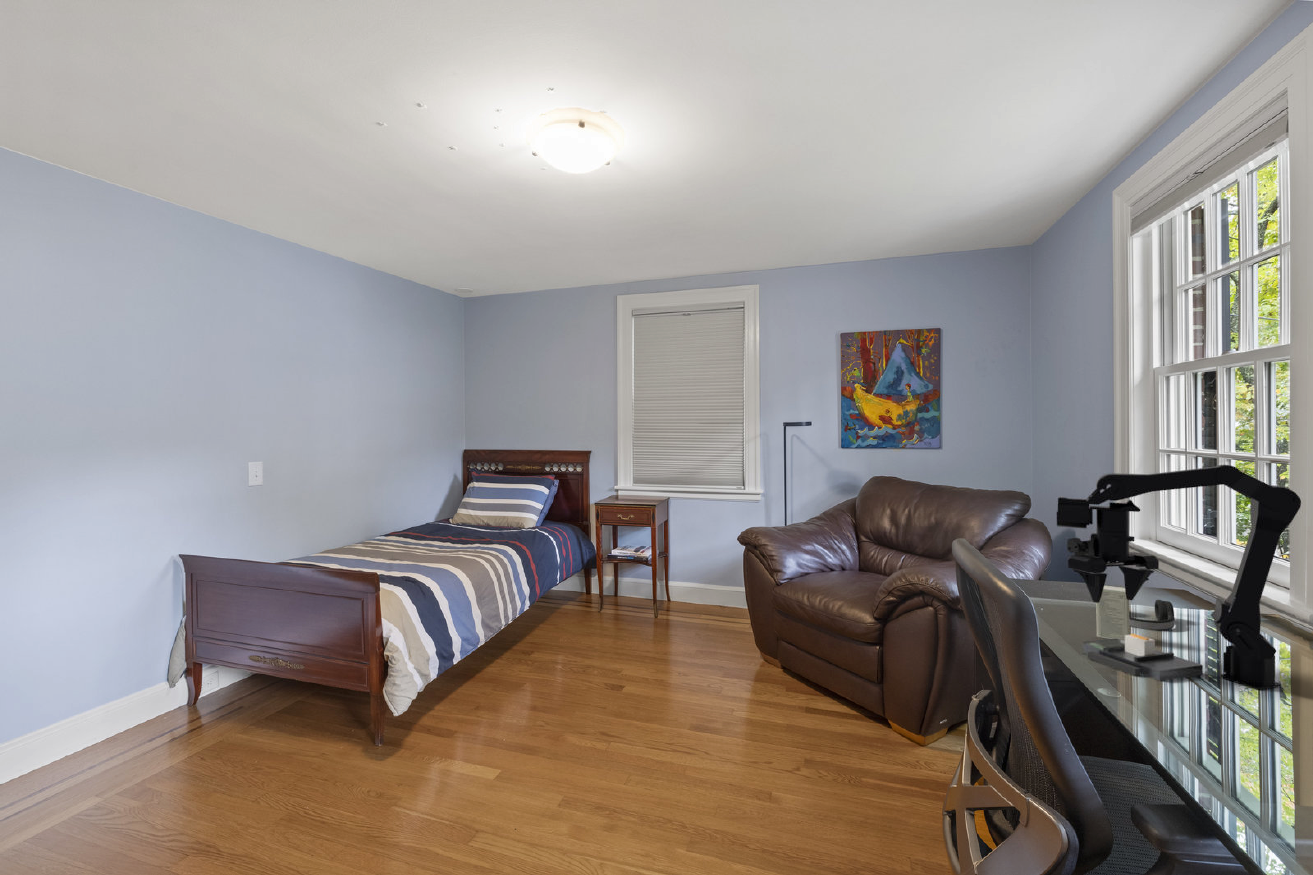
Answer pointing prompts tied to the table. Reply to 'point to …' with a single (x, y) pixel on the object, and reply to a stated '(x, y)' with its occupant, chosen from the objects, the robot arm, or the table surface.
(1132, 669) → the dark grey bar
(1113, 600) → the skincare box
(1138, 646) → the breaker lever
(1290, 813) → the table surface
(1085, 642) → the dark grey bar far
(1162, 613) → the headset
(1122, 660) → the panel
